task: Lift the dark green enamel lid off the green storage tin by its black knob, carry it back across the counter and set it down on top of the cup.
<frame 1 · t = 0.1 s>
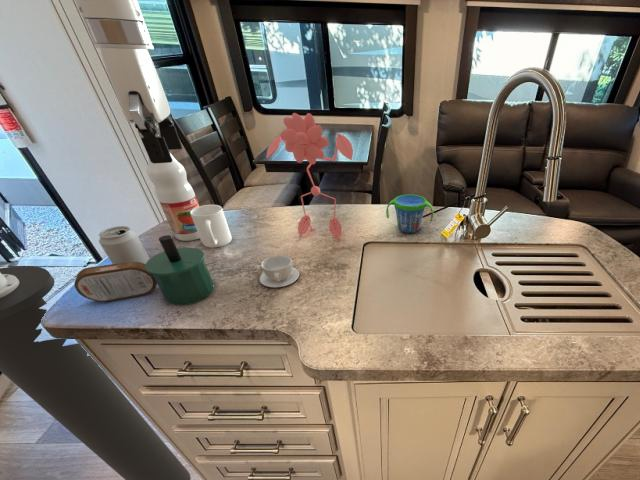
hand: (168, 155, 59), 31 cm above the counter, tool pointing down, fingers open, 9 cm apart
can: (138, 273, 84), on the counter
tin: (127, 296, 76), on the counter
fruit juice: (192, 235, 101), on the counter
teacup: (280, 278, 84), on the counter
figurine: (317, 241, 101), on the counter
cup: (217, 244, 97), on the counter
tin lid: (176, 261, 73), point 8 cm above the counter, touching storage tin
snack cup: (408, 229, 109), on the counter
storage tin: (190, 291, 78), on the counter
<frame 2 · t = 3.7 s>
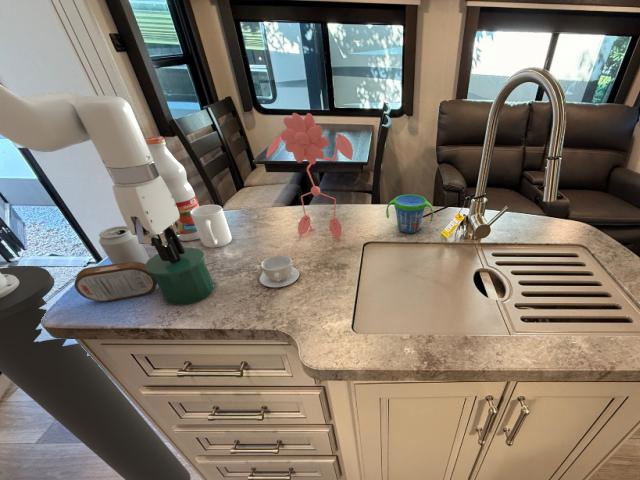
hand: (173, 256, 72), 10 cm above the counter, tool pointing down, fingers closed on tin lid, 2 cm apart
tin lid: (176, 261, 73), point 9 cm above the counter, touching gripper, storage tin
everything else where it was.
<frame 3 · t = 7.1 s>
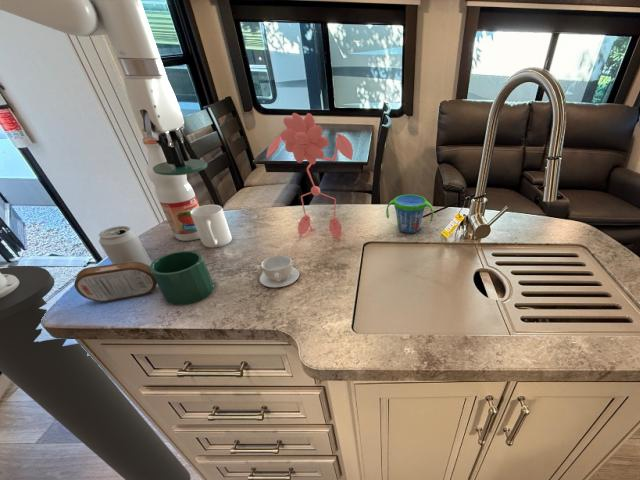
hand: (178, 161, 78), 25 cm above the counter, tool pointing down, fingers closed on tin lid, 2 cm apart
tin lid: (181, 168, 79), point 24 cm above the counter, touching gripper
everything else where it was.
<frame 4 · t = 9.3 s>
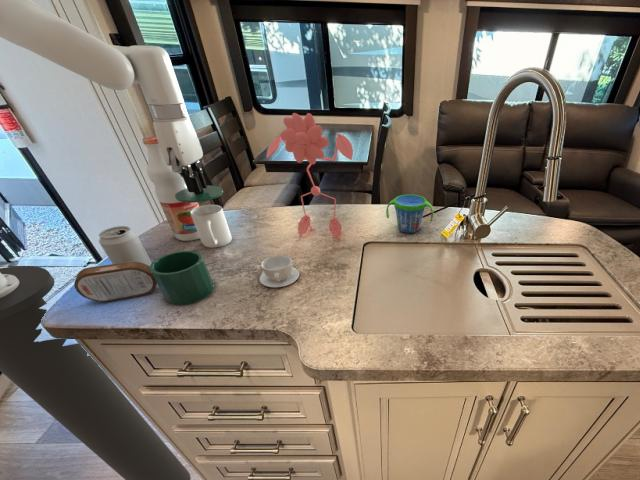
hand: (198, 189, 87), 17 cm above the counter, tool pointing down, fingers closed on tin lid, 2 cm apart
tin lid: (200, 194, 88), point 15 cm above the counter, touching gripper
everything else where it was.
when the fingers open (12 cm above the counter, at t = 10.4 s): tin lid stays where it is, resting on cup.
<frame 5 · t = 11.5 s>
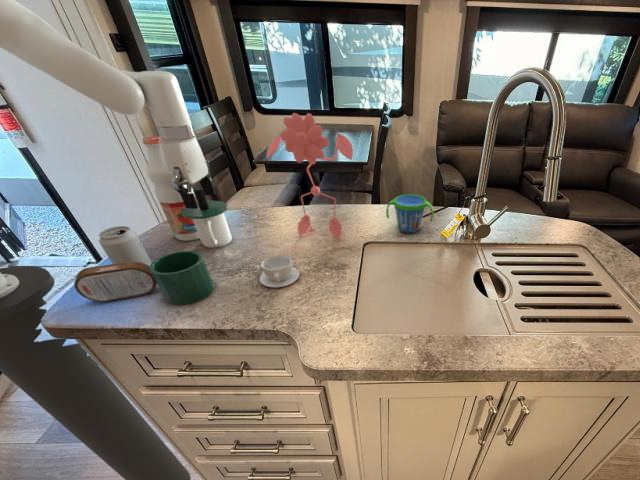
hand: (201, 201, 89), 13 cm above the counter, tool pointing down, fingers open, 9 cm apart
cup: (217, 244, 97), on the counter, touching tin lid
tin lid: (205, 210, 90), point 11 cm above the counter, touching cup
everything else where it was.
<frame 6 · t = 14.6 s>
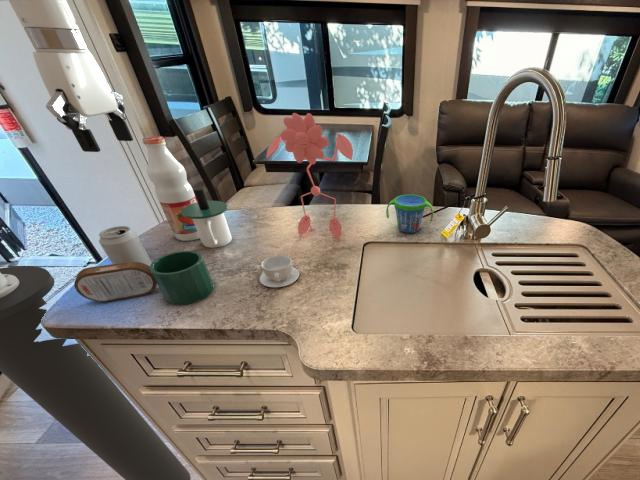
hand: (110, 145, 68), 30 cm above the counter, tool pointing down, fingers open, 9 cm apart
nothing on the counter moved.
at the end: tin lid 0.1 cm off-centre on the cup, point 11.0 cm above the cup's base; tin lid tilted 0°; the gripper is holding nothing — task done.
